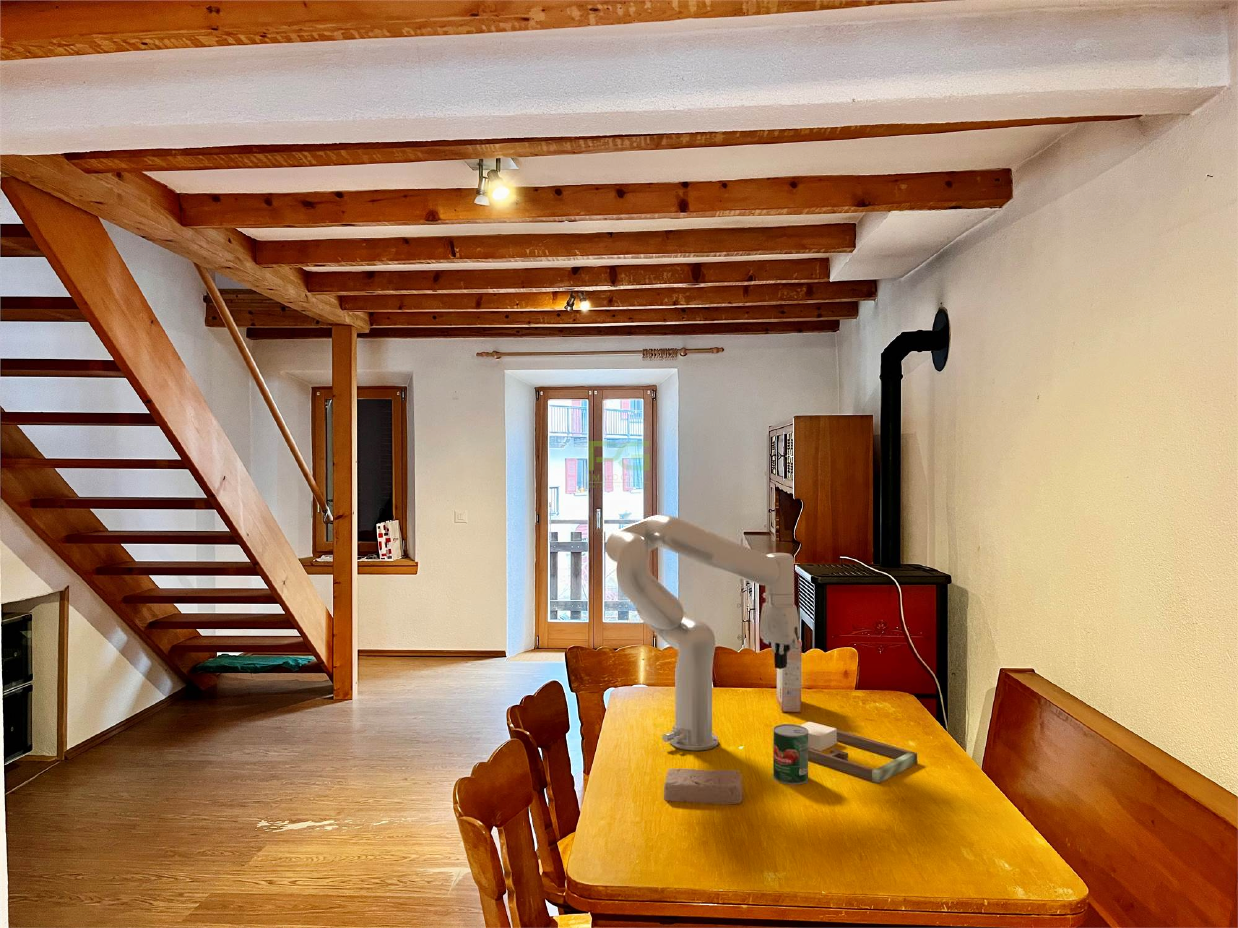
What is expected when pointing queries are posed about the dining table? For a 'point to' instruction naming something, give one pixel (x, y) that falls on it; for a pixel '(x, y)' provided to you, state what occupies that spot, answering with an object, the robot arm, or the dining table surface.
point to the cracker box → (790, 681)
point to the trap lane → (878, 775)
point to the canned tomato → (790, 754)
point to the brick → (703, 786)
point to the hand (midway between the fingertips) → (780, 667)
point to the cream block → (820, 736)
